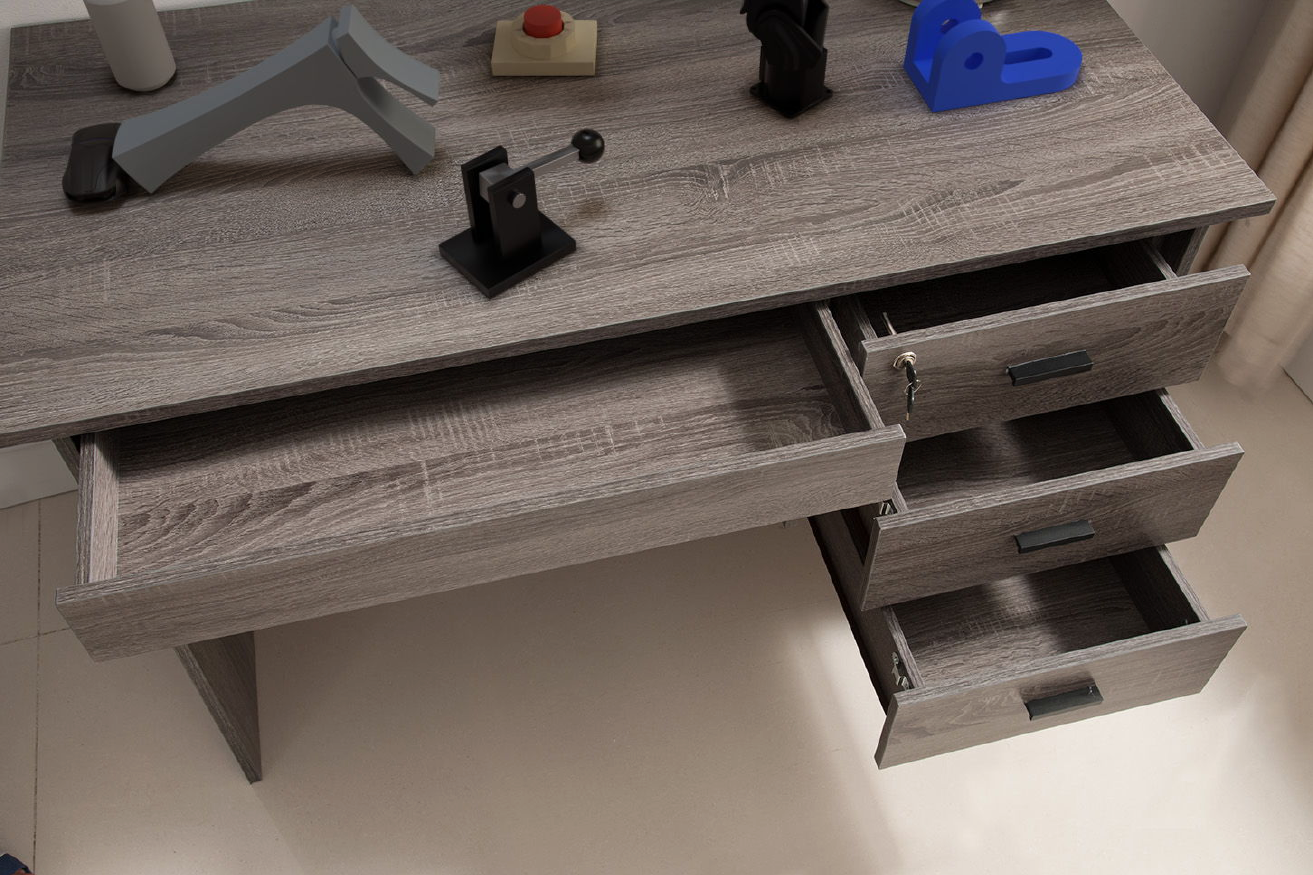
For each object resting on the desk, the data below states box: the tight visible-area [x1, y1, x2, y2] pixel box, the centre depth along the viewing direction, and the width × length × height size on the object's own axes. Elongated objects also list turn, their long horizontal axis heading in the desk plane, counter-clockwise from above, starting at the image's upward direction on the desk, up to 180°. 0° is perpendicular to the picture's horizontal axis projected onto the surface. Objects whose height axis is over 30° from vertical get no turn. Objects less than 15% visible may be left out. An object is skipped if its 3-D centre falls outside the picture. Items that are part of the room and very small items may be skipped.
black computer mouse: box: [61, 122, 130, 206], centre depth 121 cm, size 6×12×4 cm, turn 9°
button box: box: [490, 9, 598, 77], centre depth 134 cm, size 11×8×4 cm
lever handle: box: [479, 127, 606, 202], centre depth 111 cm, size 13×3×3 cm, turn 131°
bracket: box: [902, 0, 1083, 114], centre depth 128 cm, size 18×8×9 cm, turn 104°
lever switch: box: [438, 144, 577, 300], centre depth 111 cm, size 10×8×10 cm
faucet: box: [112, 3, 441, 194], centre depth 120 cm, size 6×17×30 cm
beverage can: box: [82, 0, 177, 92], centre depth 128 cm, size 6×6×12 cm
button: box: [523, 4, 562, 38], centre depth 132 cm, size 4×4×2 cm
